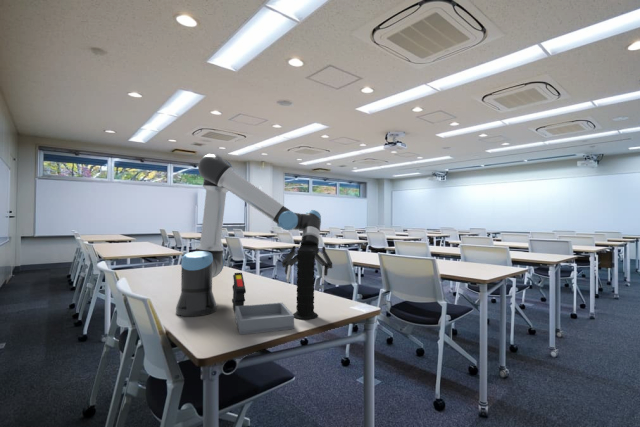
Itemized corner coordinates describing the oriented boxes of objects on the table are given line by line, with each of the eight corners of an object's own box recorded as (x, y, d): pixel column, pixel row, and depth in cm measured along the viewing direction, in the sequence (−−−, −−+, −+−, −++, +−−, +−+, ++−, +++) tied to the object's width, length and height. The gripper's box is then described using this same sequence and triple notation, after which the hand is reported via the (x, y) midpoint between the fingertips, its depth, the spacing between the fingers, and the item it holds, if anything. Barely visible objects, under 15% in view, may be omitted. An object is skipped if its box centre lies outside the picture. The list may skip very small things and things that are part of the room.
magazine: (240, 300, 139) (242, 272, 133) (243, 322, 128) (246, 291, 122) (231, 301, 137) (233, 272, 132) (234, 323, 126) (236, 292, 120)
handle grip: (316, 320, 118) (319, 312, 128) (317, 249, 119) (320, 246, 129) (290, 319, 119) (294, 311, 129) (291, 248, 120) (295, 246, 130)
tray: (239, 334, 103) (240, 320, 103) (235, 318, 120) (235, 306, 120) (293, 328, 109) (294, 315, 109) (282, 313, 126) (282, 302, 126)
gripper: (339, 245, 139) (337, 287, 123) (282, 244, 141) (274, 285, 126) (339, 234, 133) (337, 276, 118) (280, 233, 136) (271, 274, 121)
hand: (305, 281), depth 122 cm, fingers open, 13 cm apart
